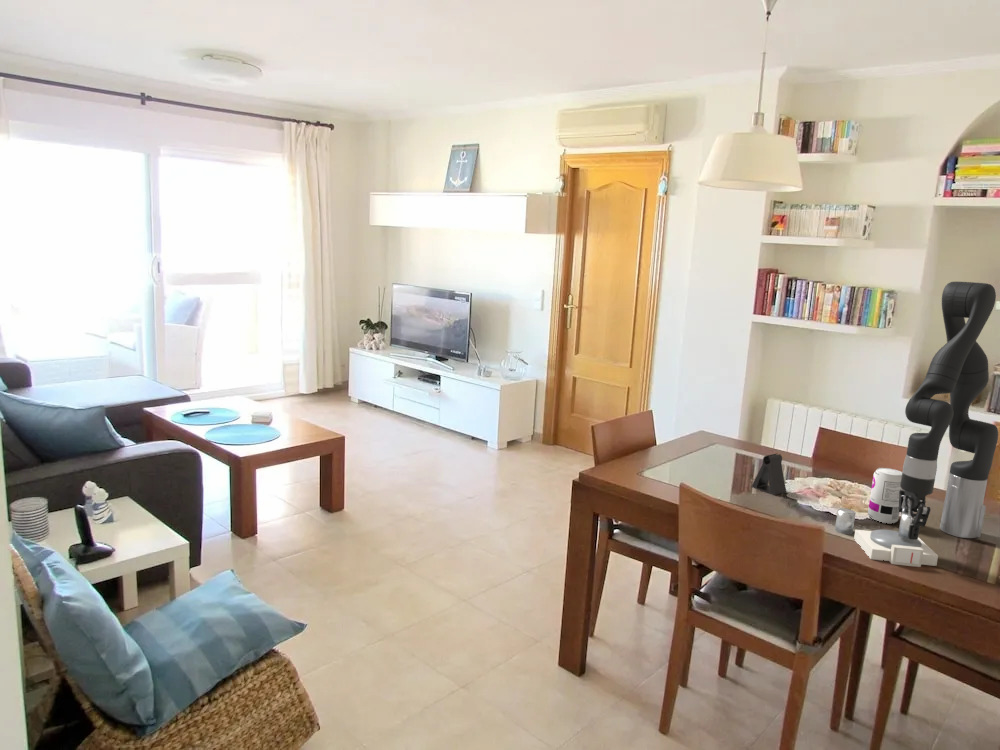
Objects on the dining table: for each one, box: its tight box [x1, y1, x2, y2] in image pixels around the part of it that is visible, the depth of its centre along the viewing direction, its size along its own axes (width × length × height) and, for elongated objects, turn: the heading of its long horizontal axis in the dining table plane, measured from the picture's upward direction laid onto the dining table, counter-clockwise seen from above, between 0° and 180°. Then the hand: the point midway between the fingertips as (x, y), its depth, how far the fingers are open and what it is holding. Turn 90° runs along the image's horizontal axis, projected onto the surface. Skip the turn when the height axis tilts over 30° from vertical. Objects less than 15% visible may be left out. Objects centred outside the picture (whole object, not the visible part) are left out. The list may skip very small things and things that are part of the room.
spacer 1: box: [834, 507, 857, 535], centre depth 206 cm, size 5×5×6 cm
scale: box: [853, 529, 939, 568], centre depth 192 cm, size 16×15×5 cm
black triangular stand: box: [751, 453, 787, 496], centre depth 237 cm, size 9×6×12 cm, turn 34°
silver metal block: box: [898, 512, 920, 540], centre depth 192 cm, size 5×5×6 cm
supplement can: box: [867, 467, 903, 525], centre depth 216 cm, size 8×8×15 cm
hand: (908, 534), depth 192 cm, fingers closed on silver metal block, 4 cm apart
